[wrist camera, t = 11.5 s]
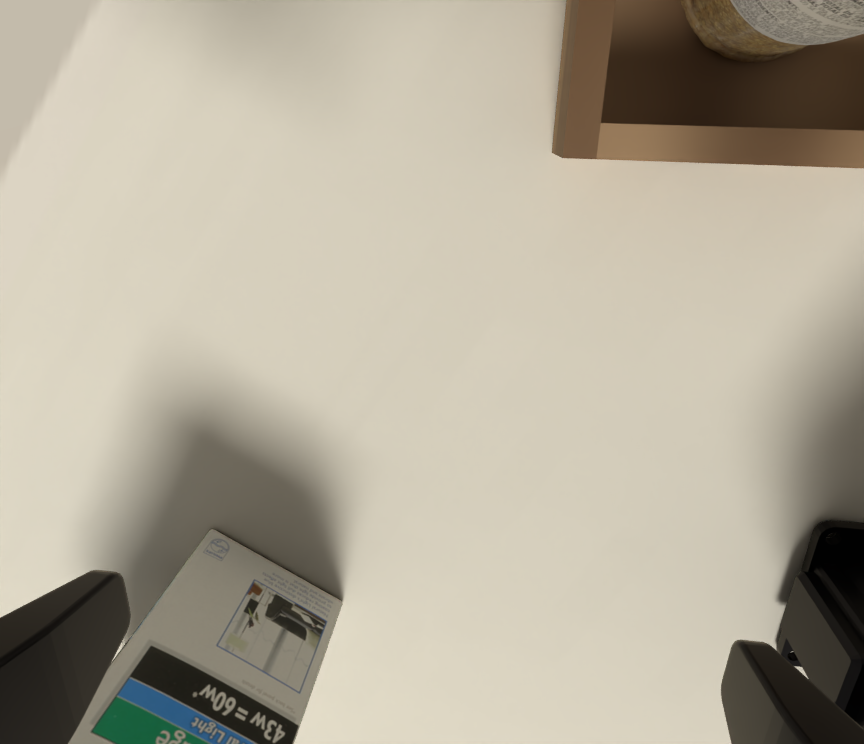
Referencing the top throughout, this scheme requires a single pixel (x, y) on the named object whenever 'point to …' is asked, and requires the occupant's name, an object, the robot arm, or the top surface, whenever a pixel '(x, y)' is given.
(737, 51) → the sprinkles bottle
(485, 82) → the top surface
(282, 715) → the light bulb box
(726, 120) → the crate
